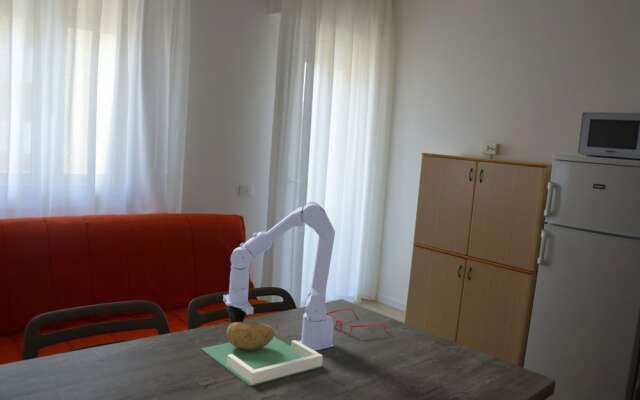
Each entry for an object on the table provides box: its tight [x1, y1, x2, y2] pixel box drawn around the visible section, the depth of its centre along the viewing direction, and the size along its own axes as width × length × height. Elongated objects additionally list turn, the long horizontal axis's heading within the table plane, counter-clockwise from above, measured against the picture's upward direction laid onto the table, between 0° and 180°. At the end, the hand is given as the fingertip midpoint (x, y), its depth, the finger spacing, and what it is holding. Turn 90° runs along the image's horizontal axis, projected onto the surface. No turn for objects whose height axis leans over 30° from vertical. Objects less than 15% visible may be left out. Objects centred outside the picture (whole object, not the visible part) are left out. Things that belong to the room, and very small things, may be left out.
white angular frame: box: [227, 339, 324, 384], centre depth 146 cm, size 23×13×3 cm, turn 130°
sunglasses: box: [326, 307, 387, 336], centre depth 183 cm, size 17×16×5 cm
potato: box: [225, 321, 276, 351], centre depth 155 cm, size 10×14×8 cm
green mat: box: [200, 336, 324, 387], centre depth 151 cm, size 24×26×1 cm
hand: (236, 330), depth 162 cm, fingers closed
